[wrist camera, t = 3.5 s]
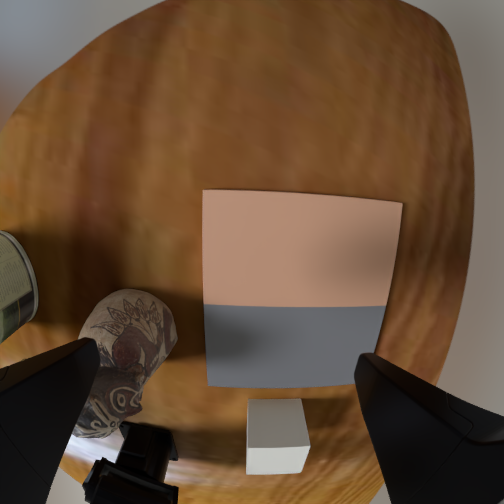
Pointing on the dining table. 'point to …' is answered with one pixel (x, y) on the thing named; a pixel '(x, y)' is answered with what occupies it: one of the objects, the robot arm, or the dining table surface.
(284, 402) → the cream block
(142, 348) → the figurine
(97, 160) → the dining table surface
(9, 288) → the coffee can
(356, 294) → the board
